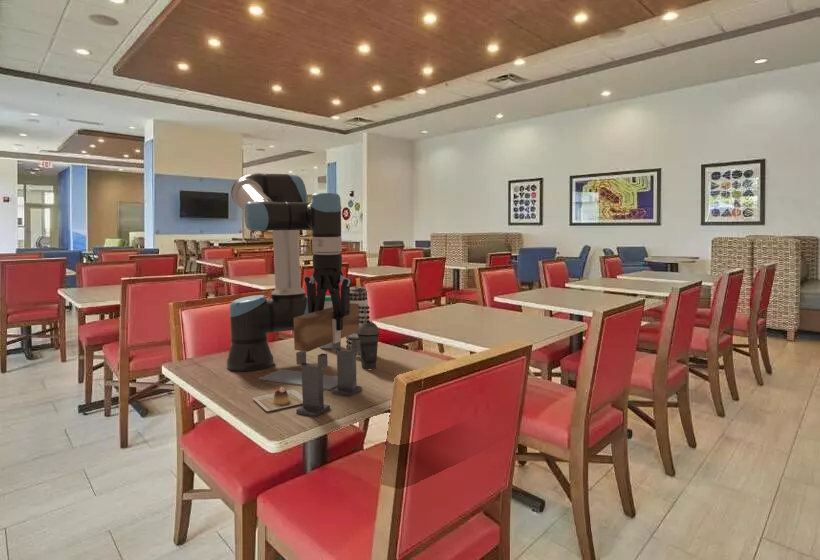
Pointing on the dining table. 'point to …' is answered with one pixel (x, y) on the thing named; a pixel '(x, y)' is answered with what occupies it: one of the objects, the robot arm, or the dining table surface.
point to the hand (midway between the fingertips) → (329, 341)
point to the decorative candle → (359, 297)
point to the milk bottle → (326, 305)
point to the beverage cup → (368, 343)
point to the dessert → (279, 398)
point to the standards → (314, 378)
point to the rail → (322, 328)
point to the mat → (298, 378)
